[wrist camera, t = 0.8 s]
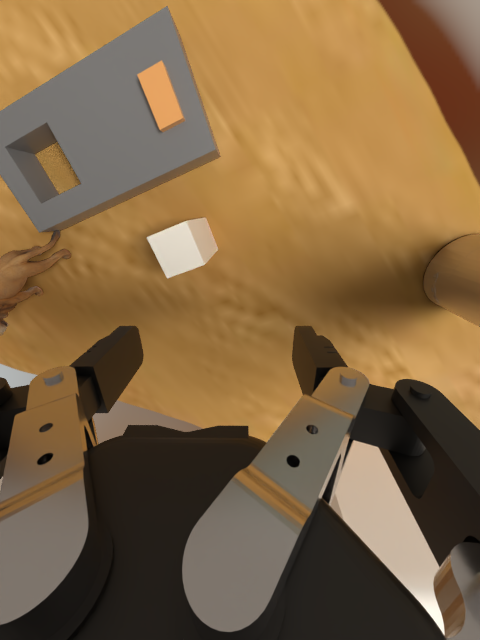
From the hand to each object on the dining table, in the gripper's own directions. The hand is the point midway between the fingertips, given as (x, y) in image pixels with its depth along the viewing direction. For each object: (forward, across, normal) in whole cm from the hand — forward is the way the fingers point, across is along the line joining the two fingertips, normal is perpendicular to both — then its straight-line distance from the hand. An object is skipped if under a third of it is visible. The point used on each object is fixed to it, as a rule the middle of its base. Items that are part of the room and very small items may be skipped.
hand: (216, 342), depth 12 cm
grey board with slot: (+21, +13, -13) cm, 28 cm away
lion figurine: (+22, +27, +2) cm, 35 cm away
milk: (+21, -22, +37) cm, 48 cm away
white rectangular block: (+20, +4, -3) cm, 21 cm away
